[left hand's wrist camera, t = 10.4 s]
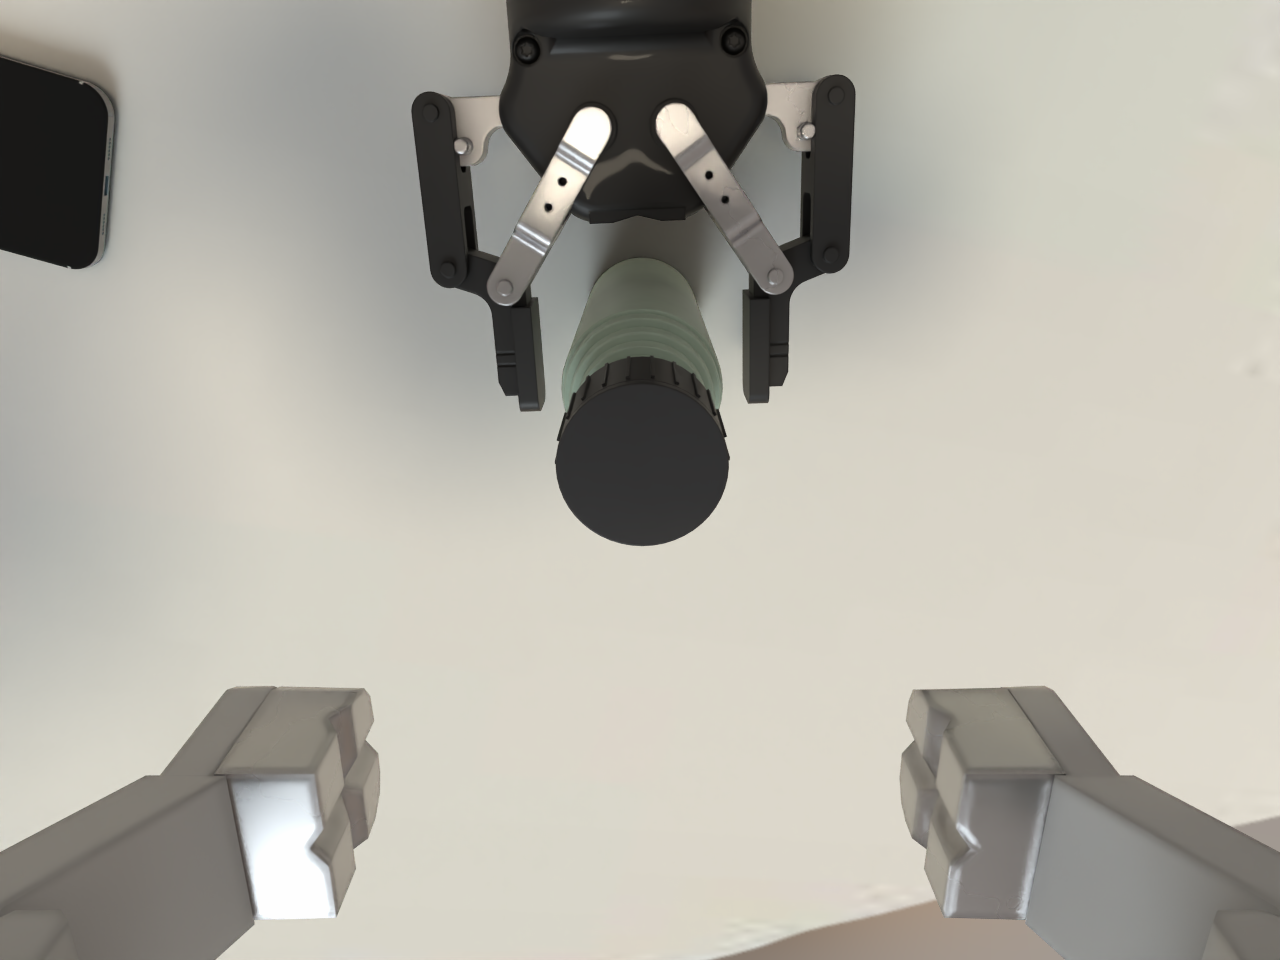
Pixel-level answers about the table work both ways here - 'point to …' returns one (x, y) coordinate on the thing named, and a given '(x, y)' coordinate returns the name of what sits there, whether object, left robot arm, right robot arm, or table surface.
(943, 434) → the table surface
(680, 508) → the cap
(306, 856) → the left robot arm
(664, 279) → the bottle
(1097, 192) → the table surface
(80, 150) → the smartphone
